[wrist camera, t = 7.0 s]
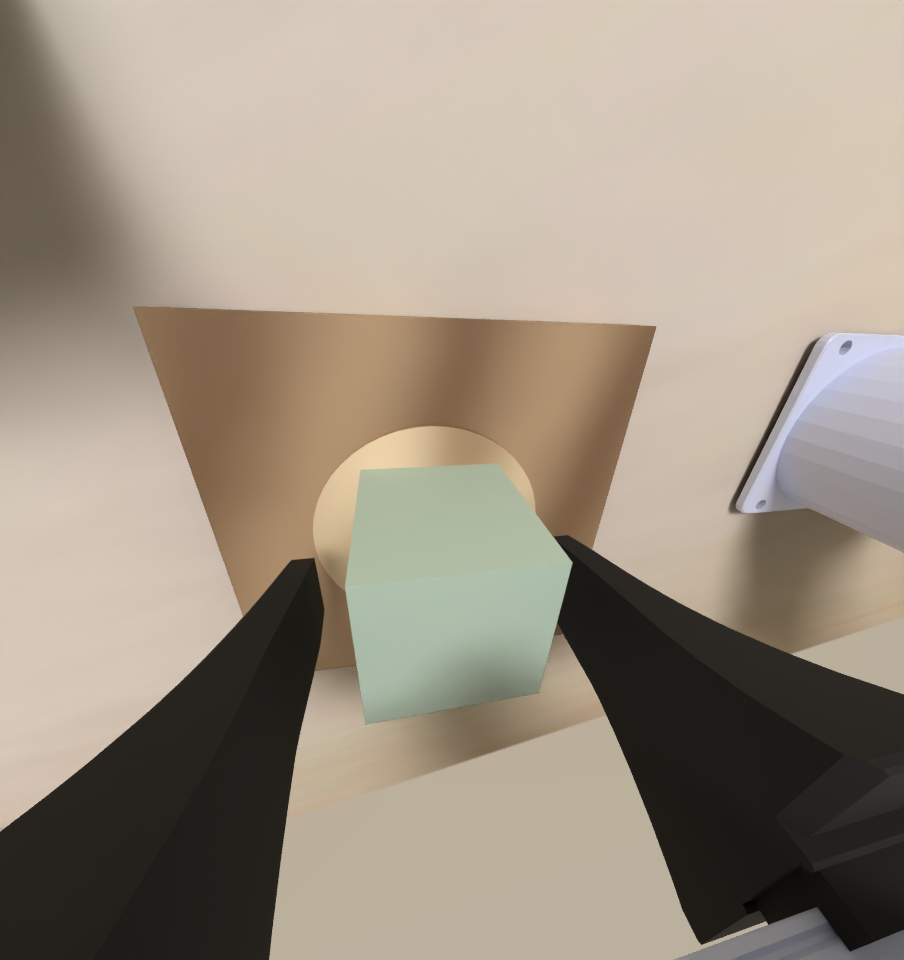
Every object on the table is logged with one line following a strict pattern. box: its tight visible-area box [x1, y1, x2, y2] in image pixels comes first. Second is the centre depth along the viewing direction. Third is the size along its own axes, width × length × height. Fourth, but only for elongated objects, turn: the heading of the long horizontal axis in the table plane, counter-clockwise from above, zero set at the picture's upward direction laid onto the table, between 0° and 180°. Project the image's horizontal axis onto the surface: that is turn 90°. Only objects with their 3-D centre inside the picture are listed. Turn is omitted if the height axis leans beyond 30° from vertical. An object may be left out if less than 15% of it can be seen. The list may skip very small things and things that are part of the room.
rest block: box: [345, 464, 573, 725], centre depth 10 cm, size 4×4×5 cm
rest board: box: [133, 307, 656, 671], centre depth 13 cm, size 14×14×1 cm
